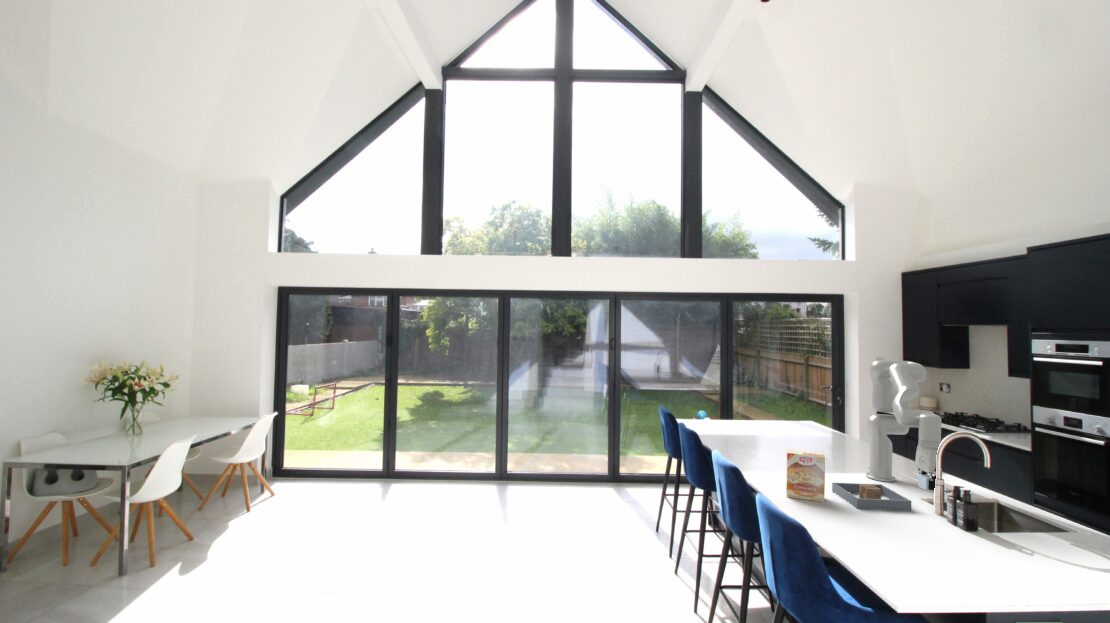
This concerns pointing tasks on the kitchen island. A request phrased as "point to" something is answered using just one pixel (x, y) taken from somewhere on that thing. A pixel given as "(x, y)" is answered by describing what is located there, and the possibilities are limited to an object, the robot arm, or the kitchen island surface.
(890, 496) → the grey square tray
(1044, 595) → the kitchen island surface
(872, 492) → the walnut block
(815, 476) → the coffeecake box
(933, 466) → the robot arm
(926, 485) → the pale blue box
